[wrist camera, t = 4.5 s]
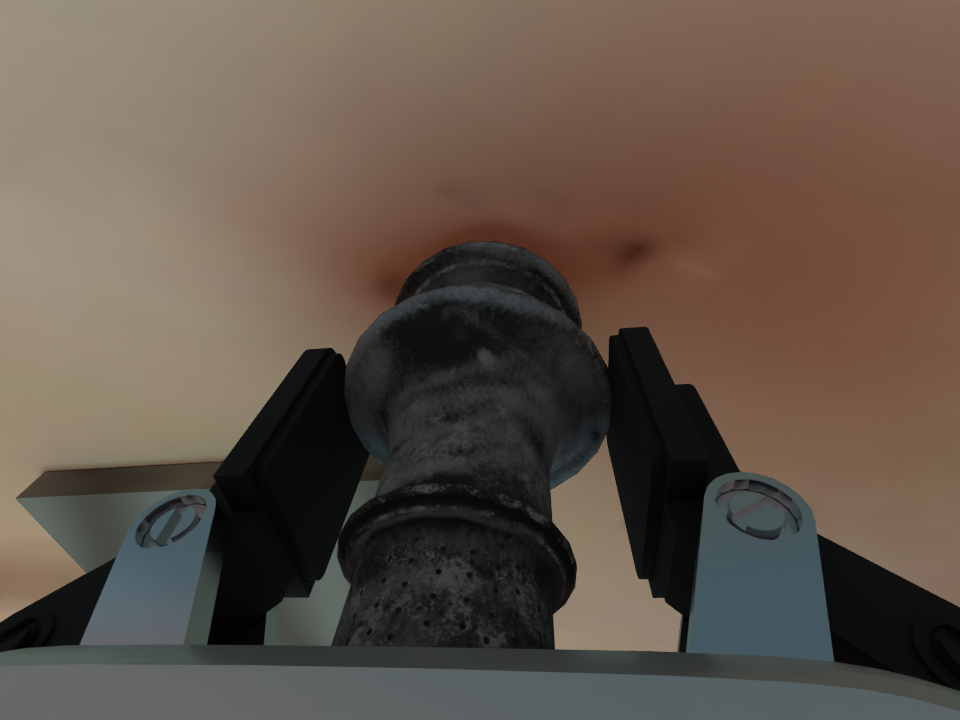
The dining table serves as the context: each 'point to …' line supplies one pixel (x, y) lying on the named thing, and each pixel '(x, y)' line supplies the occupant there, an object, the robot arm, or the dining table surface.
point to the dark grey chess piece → (469, 453)
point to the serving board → (131, 490)
